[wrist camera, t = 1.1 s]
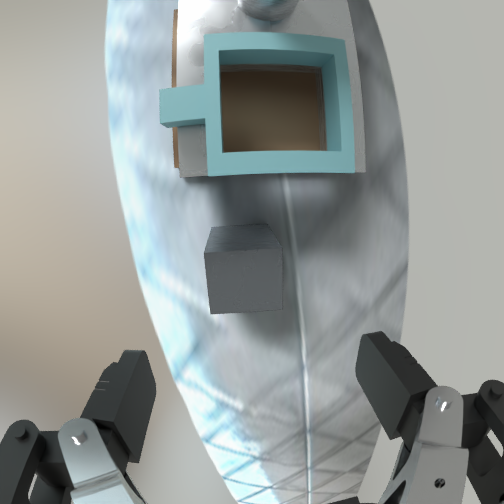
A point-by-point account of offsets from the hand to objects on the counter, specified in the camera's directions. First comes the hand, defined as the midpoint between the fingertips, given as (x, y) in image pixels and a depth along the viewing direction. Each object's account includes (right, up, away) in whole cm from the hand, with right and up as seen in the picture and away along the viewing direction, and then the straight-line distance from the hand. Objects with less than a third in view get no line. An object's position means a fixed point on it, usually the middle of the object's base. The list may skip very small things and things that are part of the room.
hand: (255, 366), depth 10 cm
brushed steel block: (-1, +4, +14) cm, 15 cm away
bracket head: (0, +13, +6) cm, 14 cm away
